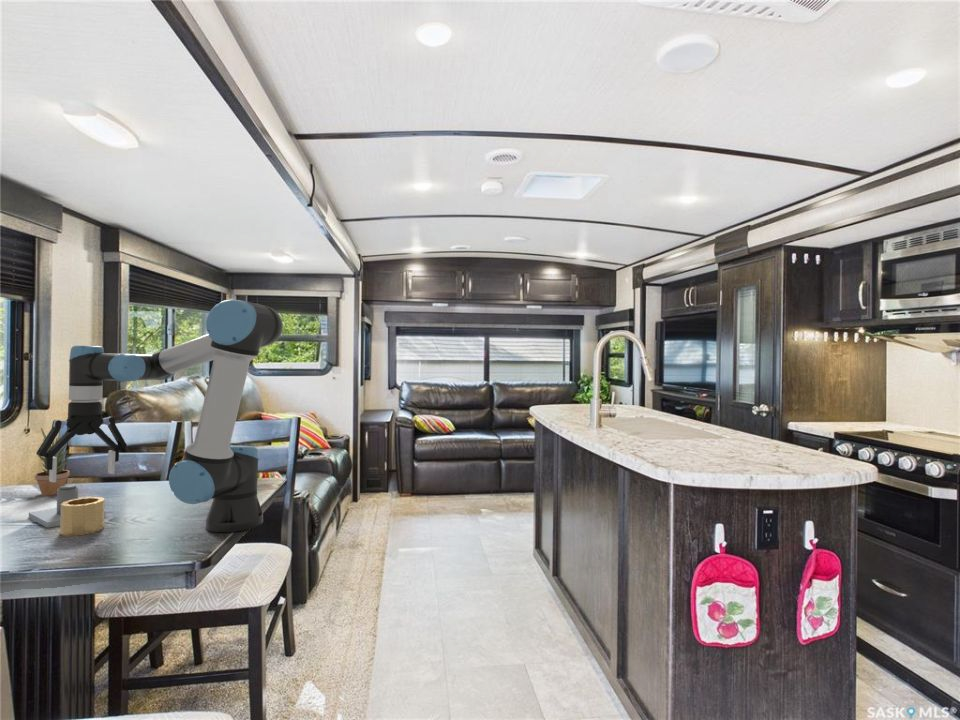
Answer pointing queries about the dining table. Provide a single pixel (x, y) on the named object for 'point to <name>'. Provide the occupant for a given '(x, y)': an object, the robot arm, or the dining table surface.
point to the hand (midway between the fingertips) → (83, 477)
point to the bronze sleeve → (82, 516)
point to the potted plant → (61, 474)
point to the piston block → (53, 515)
